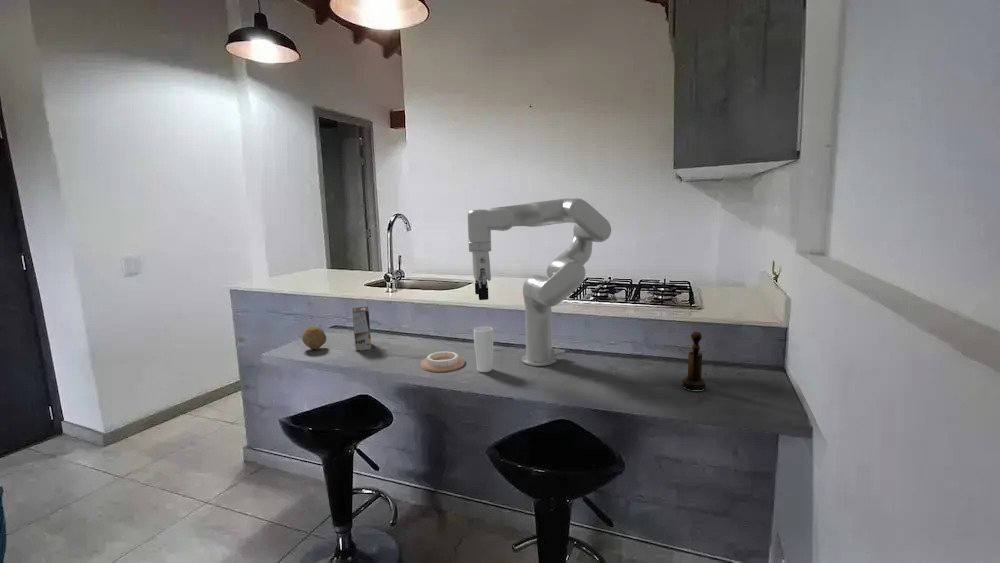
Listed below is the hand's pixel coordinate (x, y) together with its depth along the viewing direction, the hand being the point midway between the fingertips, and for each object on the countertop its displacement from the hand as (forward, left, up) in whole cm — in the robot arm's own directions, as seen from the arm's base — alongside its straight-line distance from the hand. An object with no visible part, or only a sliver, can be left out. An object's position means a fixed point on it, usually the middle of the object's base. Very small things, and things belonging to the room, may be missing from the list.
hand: (481, 296), depth 164 cm
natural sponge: (+64, -41, -26) cm, 81 cm away
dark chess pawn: (-61, +31, -26) cm, 74 cm away
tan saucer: (+14, -10, -26) cm, 31 cm away
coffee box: (+45, -39, -27) cm, 65 cm away
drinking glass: (0, 0, -26) cm, 27 cm away
